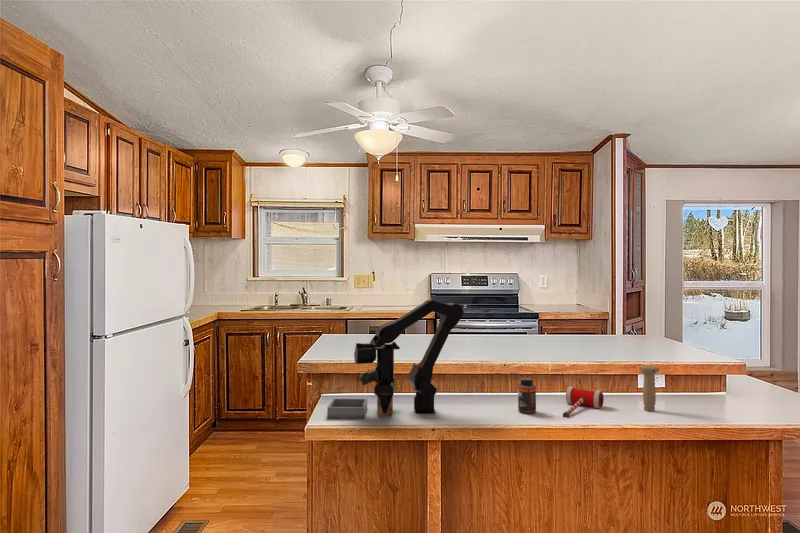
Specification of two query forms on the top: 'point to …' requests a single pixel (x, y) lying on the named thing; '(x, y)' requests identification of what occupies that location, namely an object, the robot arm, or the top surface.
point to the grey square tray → (347, 408)
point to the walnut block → (389, 410)
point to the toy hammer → (583, 399)
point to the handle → (649, 386)
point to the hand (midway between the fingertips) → (385, 409)
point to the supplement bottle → (527, 396)
